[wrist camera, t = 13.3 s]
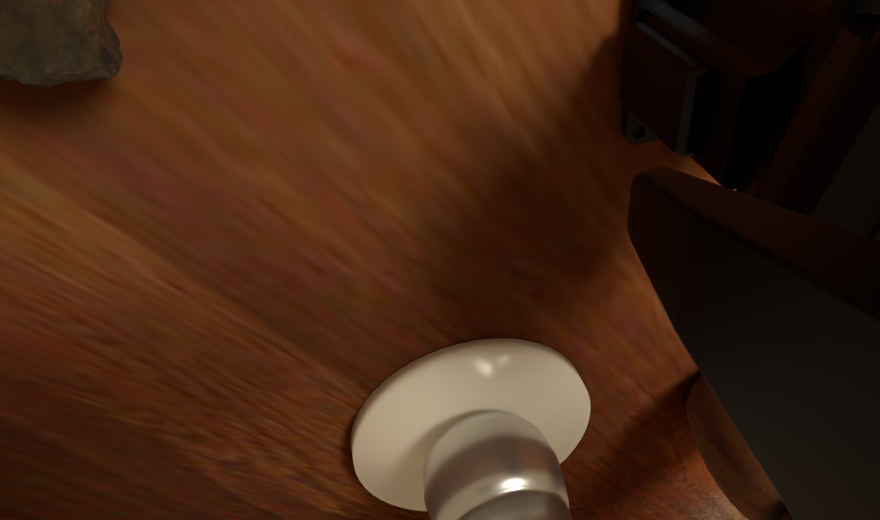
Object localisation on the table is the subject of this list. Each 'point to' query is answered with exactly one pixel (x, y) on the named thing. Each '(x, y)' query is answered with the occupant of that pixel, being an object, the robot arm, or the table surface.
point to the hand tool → (57, 42)
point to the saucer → (462, 408)
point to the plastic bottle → (494, 472)
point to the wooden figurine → (731, 457)
